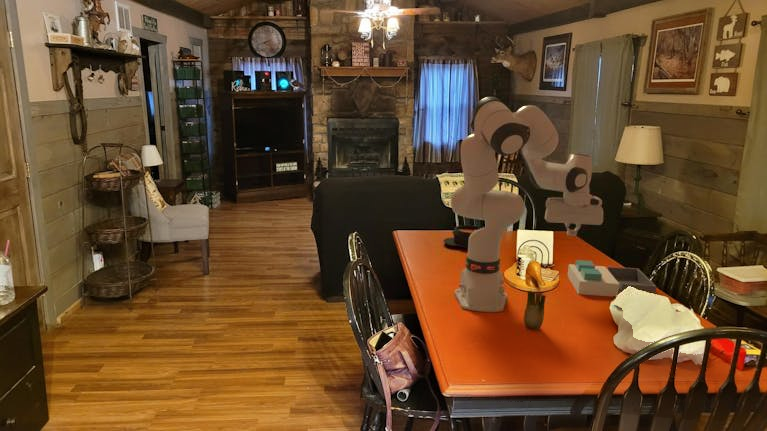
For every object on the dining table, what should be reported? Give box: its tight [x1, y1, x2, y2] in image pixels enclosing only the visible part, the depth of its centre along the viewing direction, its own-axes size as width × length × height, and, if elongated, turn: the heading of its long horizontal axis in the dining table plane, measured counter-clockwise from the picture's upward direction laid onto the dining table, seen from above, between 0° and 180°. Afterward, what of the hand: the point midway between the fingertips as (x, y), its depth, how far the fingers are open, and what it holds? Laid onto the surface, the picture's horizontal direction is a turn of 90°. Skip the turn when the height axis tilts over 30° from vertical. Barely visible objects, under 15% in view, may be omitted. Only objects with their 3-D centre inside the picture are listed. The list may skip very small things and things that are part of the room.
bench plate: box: [567, 263, 620, 297], centre depth 209 cm, size 20×14×5 cm
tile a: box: [581, 268, 602, 281], centre depth 203 cm, size 6×6×2 cm
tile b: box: [574, 259, 596, 271], centre depth 213 cm, size 6×6×2 cm
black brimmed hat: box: [443, 224, 484, 250], centre depth 258 cm, size 25×19×8 cm
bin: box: [607, 266, 657, 295], centre depth 207 cm, size 20×12×5 cm, turn 173°
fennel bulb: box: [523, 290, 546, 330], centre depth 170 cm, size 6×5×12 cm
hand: (571, 234), depth 201 cm, fingers closed
